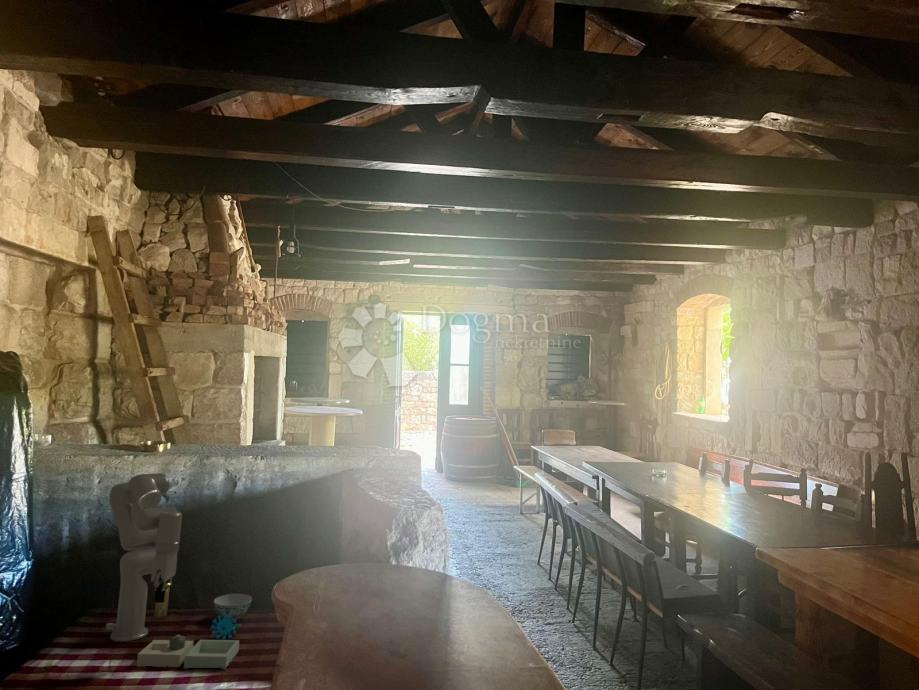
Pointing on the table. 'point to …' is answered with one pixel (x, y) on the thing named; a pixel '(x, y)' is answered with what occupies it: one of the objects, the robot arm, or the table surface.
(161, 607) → the pin
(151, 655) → the beige boxy piece
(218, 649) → the tray
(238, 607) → the chinaware
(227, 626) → the teal lobed piece
